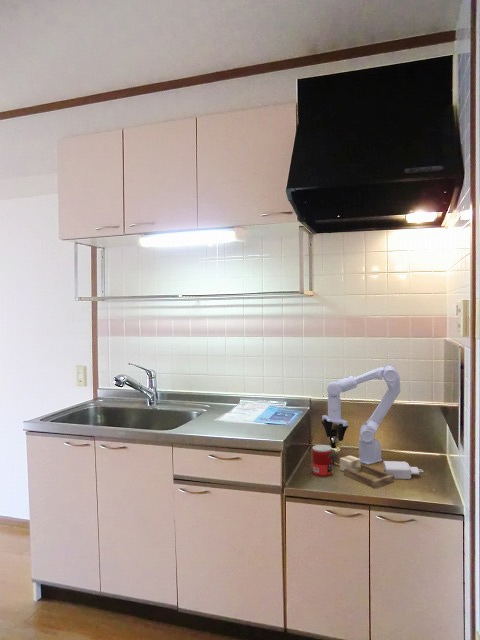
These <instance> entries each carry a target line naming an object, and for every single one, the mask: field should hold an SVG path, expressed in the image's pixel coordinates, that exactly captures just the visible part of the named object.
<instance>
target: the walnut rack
mask: <svg viewBox="0 0 480 640" xmlns="http://www.w3.org/2000/svg"><path fill="white" fill-rule="evenodd" d="M360 472H364V473H366V474H368V475H371V476H373V477H376V478H375V479H374V478H372V477H369V476H367V475H365V474H362V473H359V472H355V471H352V470H350V469H347V468H346V469H344V471H343V476H345V477H347V478H349V479H352V480H355V481H358V482H359V483H362V484H364V485H367V486H369V487H371V488H373V489H378V488H381V487H383V486H386V485H389V484H393V483H395V479H394V475H391V474H388V473H386V472H384V470H380V469H378V468H376V467H372V466H370V465H368V464H365V463H361V471H360Z"/></svg>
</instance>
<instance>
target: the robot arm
mask: <svg viewBox="0 0 480 640" xmlns="http://www.w3.org/2000/svg"><path fill="white" fill-rule="evenodd" d="M374 379H375V380H379V381H380V380H381V381H383V380H384V382H385V383H386V386H387V390H386V391H385V393H384V395H383V396H382V398H381V400H380V401H379V403H378V405H377V406H376V408H375V409H374V410H373V412H372V414H371V415H370V417H369V418H368V419H367V420H366V422H364V423H363V424H362V425H360V427H359V439H358V457H357V458H358V459H360V463H361V464H365V465H371V464H375V463H378V462H382V461H383V459H382V445H381V443H380V441H379V440H378V439H376V438H375V436H376V433H377V431H378V429H379V426H380V424H381V423H382V421H383V420H384V417H385V416H386V415H387V414H388V412H389V410H390V409H391V407H392V405H394V402H395V401H396V399H397V398H398V396H399V395H400V392H401V378H400V375H399V373H398V371H397V369H396V367H395V366H393V365H385V366H384V367H383V366H380V367H377V368H374V369H372V370H370V371H367V372H364V373H362V374H359V375H358V376H353V375H350V376H349V375H345V377H343V378H341V379H336V380H335V381H331V382H329V384H328V385H327V389H326V391H327V414H324V415H323V414H322V416H321V418H322V421H321V425H322V426H323V428H324V431H325V434H326V435H325V436H326V438H329V437H330V438H331V437H332V434H333V431H332V430H333V424H337V425H335V429H336V432H337V440H338V442H343V440H344V437H345V434H346V431H347V429H348V428H349V423H348V421H347V420H345V419H343V418H342V406H341V405H342V403H341V400H342V399H341V393H346V392H349V391H351V390H353V389H356V388H357V387H358V385H359V384H361V383H365V382H368V381H371V380H374Z"/></svg>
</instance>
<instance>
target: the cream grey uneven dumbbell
mask: <svg viewBox="0 0 480 640" xmlns="http://www.w3.org/2000/svg"><path fill="white" fill-rule="evenodd" d="M358 458H359V457H356V456H353V455H347V456H343V457H339V463H337V462H336V451H335V450H334V449H332V465H335V466H338V467H339V470H340V471H342V472H344V469H346V468H347V469H350V470H352V471H355V472H357V473H359V472H362V471H361V464H362V462H360V459H358Z"/></svg>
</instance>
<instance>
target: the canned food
mask: <svg viewBox="0 0 480 640" xmlns="http://www.w3.org/2000/svg"><path fill="white" fill-rule="evenodd" d="M332 450H333V449H332V446H330V445H327V444H316V445H313V446H312V450H311V451H312V473H313V474H314V475H315V476H318V477H323V478H326V477H330V476H331V475H332V474H333V464H332Z"/></svg>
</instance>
